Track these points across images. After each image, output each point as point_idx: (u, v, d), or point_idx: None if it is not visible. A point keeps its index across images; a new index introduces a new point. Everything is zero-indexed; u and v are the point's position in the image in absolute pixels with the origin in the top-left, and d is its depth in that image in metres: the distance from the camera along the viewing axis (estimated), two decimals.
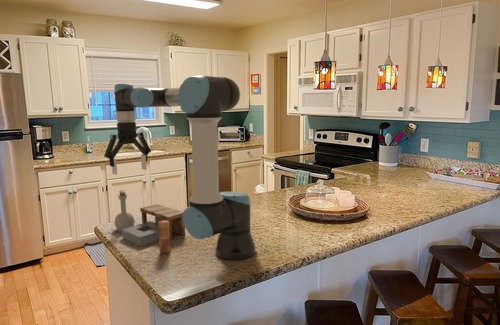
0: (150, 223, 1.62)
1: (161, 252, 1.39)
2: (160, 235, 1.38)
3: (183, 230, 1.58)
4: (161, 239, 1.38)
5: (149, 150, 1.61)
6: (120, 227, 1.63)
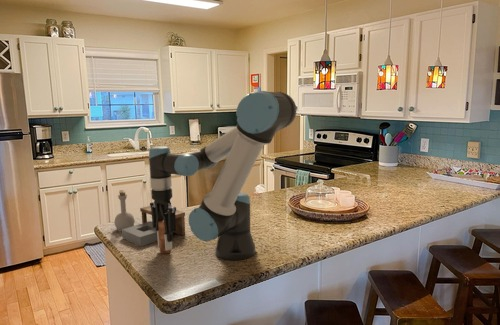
0: (150, 223, 1.62)
1: (161, 252, 1.39)
2: (160, 235, 1.37)
3: (183, 230, 1.58)
4: (161, 239, 1.38)
5: (169, 230, 1.35)
6: (120, 227, 1.63)
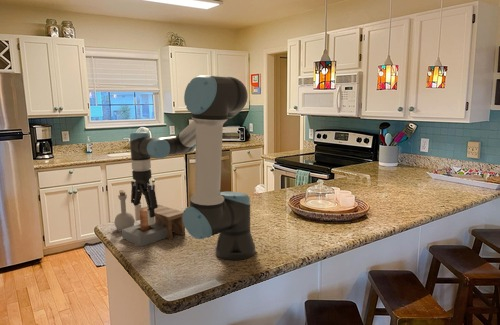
0: None
1: None
2: (141, 222, 1.53)
3: (183, 230, 1.58)
4: (142, 226, 1.53)
5: (151, 206, 1.48)
6: (120, 227, 1.63)
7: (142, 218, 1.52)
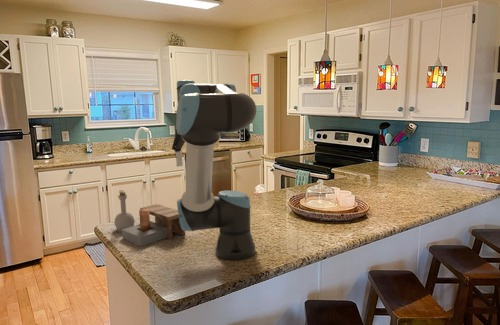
0: (150, 223, 1.62)
1: None
2: (141, 222, 1.53)
3: (183, 230, 1.58)
4: (142, 226, 1.53)
5: None
6: (120, 227, 1.63)
7: (142, 218, 1.52)
